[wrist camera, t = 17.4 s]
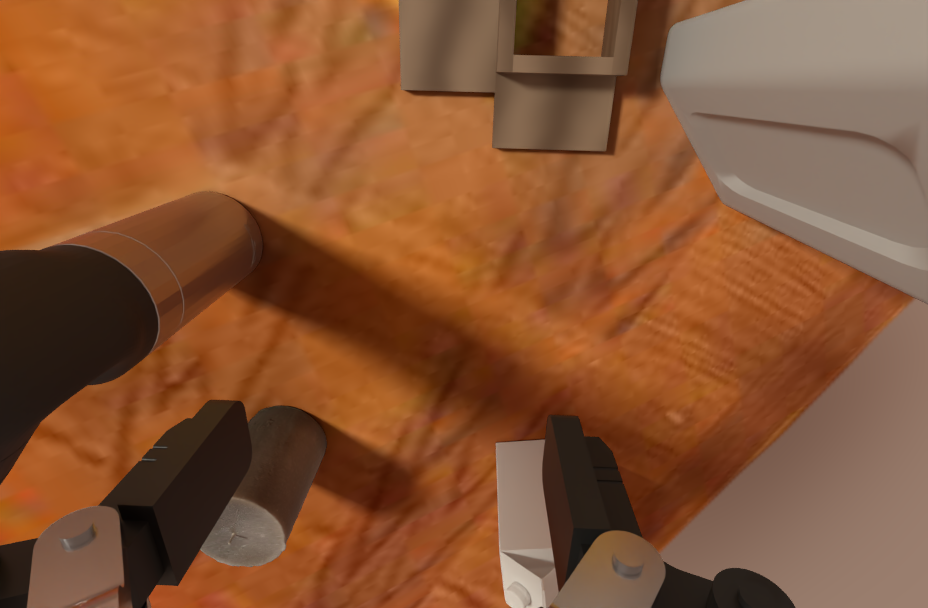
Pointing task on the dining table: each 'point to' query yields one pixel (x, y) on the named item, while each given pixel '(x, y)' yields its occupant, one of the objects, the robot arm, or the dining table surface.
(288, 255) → the dining table surface
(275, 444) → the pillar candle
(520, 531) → the milk carton
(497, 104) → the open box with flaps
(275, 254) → the dining table surface
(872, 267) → the grey triangular pillar
